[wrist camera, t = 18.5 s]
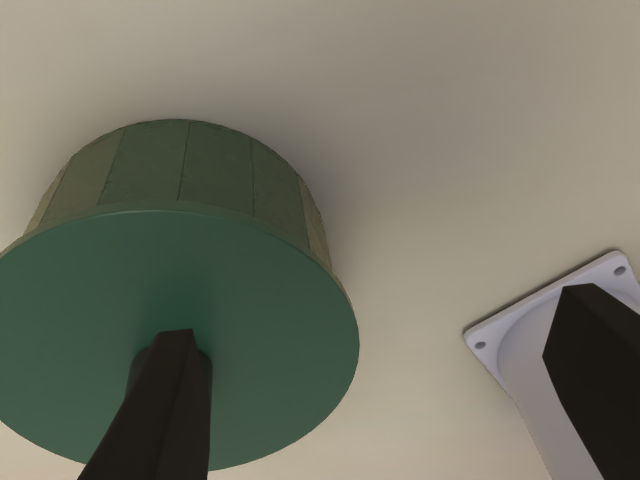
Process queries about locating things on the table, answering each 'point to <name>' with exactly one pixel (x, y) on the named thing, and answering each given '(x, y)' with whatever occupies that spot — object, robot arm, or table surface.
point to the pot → (187, 177)
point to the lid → (170, 325)
